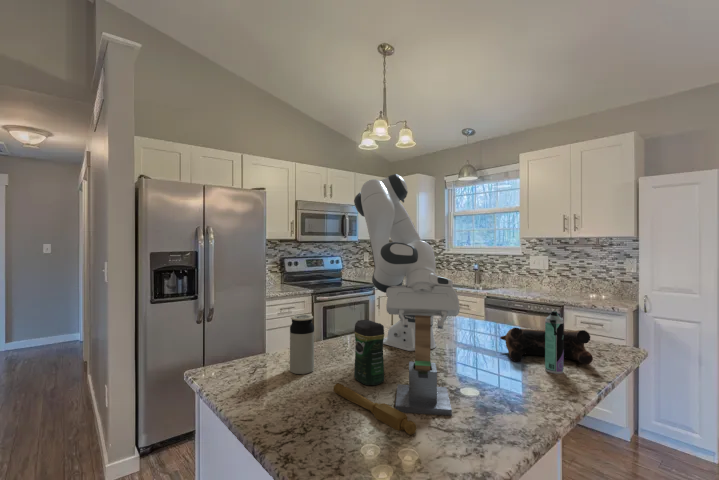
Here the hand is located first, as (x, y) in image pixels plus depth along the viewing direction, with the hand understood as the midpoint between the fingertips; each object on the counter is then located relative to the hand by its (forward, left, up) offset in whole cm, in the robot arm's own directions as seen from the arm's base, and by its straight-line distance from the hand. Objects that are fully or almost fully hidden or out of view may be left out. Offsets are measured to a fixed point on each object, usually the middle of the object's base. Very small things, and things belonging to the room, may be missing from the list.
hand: (422, 327), depth 98 cm
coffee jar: (-20, +5, -21) cm, 29 cm away
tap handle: (-9, -12, -21) cm, 26 cm away
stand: (0, +1, -20) cm, 20 cm away
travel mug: (-43, -1, -21) cm, 48 cm away
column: (0, +1, -13) cm, 13 cm away
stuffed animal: (+20, +65, -21) cm, 71 cm away
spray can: (+26, +48, -21) cm, 58 cm away
